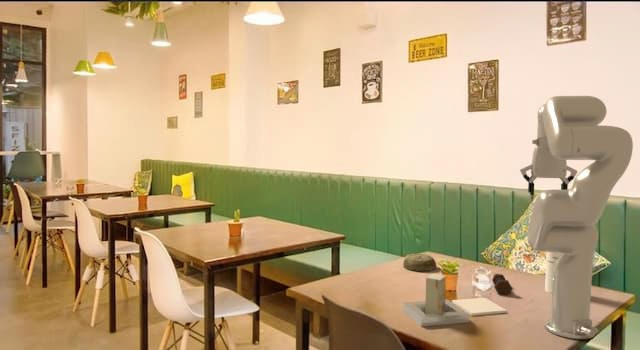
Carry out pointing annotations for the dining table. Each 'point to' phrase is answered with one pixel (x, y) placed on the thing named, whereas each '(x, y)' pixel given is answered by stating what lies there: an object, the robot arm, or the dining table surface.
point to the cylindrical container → (550, 269)
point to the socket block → (435, 314)
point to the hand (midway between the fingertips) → (547, 195)
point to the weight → (419, 262)
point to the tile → (479, 306)
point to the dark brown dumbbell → (501, 284)
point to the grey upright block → (435, 294)
